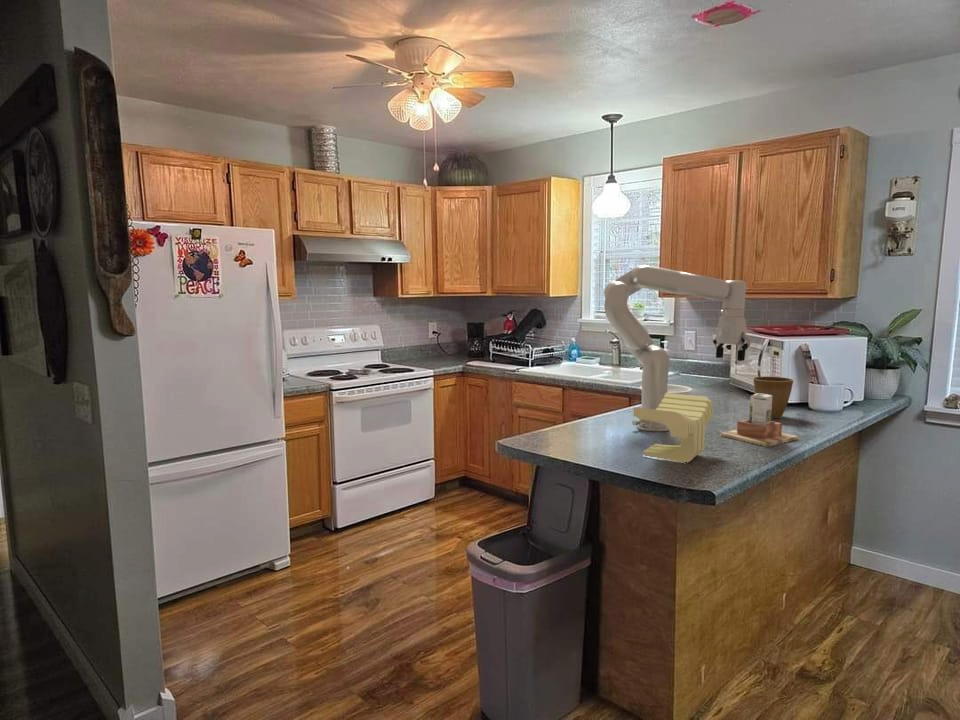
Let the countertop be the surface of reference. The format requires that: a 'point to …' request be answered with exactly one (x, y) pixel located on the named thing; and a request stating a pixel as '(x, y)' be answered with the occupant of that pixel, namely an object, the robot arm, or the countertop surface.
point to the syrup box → (760, 409)
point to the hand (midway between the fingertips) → (729, 359)
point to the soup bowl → (677, 389)
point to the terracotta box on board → (759, 433)
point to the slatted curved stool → (679, 425)
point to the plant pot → (775, 392)
